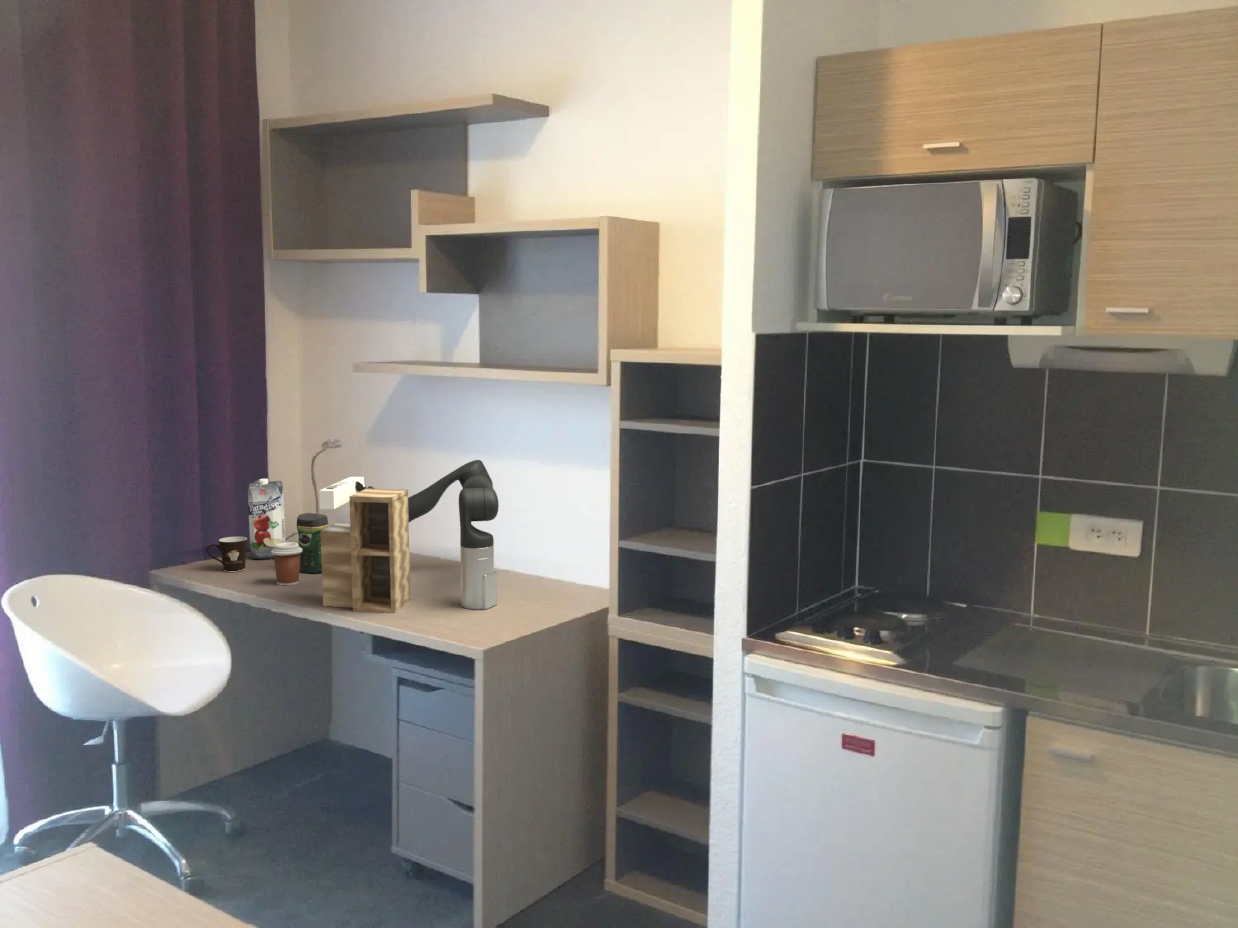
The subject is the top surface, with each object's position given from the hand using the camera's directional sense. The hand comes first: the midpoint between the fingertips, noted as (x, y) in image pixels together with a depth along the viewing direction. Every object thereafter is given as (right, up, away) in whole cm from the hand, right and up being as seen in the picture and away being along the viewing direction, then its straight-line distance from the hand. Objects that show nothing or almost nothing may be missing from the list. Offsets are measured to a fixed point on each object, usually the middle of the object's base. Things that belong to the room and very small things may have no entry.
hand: (348, 484), depth 309 cm
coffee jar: (-20, -28, +37) cm, 51 cm away
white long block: (-1, -5, -4) cm, 6 cm away
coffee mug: (-48, -28, +38) cm, 67 cm away
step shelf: (+6, -34, -3) cm, 34 cm away
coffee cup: (-24, -31, +21) cm, 44 cm away
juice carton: (-41, -26, +56) cm, 74 cm away
